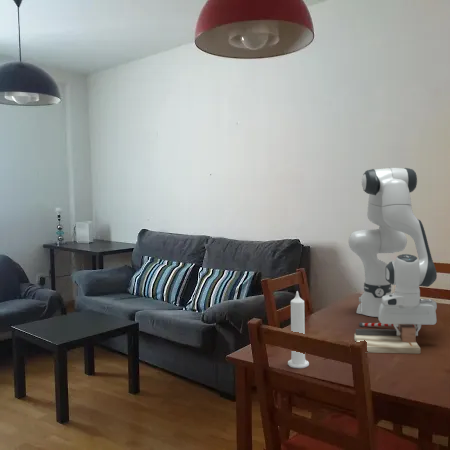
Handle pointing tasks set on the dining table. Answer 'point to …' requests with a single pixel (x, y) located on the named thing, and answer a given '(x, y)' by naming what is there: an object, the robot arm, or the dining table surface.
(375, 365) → the dining table surface
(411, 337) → the brown cardboard brick
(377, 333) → the board
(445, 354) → the dining table surface
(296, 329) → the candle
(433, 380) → the dining table surface
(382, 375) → the dining table surface
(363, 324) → the toy hammer
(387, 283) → the robot arm
